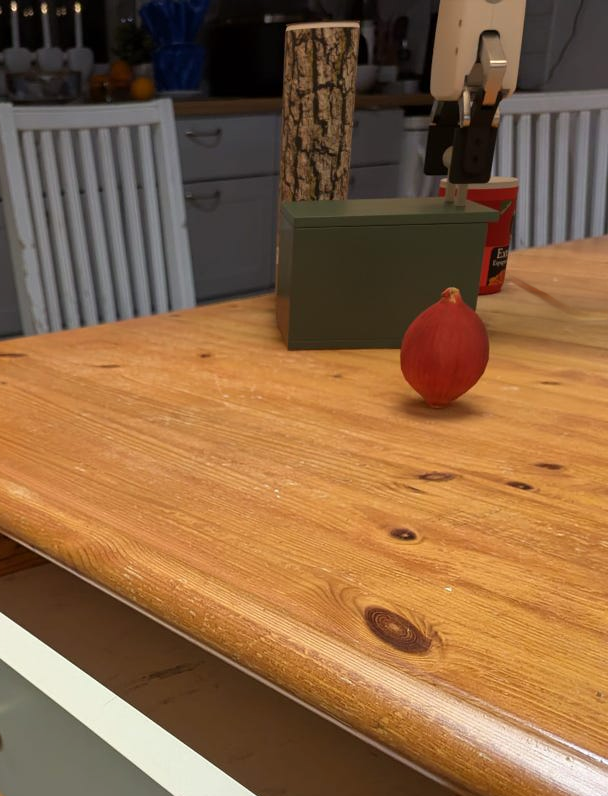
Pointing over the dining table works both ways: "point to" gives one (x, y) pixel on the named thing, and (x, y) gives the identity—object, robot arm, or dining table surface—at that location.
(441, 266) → the bin
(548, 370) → the dining table surface
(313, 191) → the bark log
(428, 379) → the onion
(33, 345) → the dining table surface
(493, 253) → the canned food
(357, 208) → the bin lid
